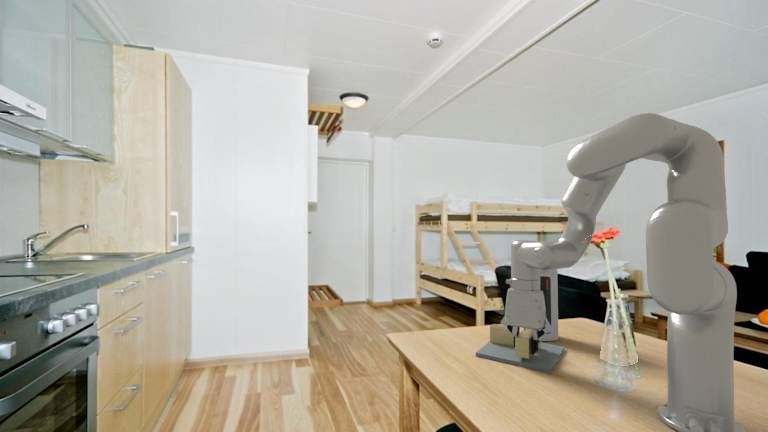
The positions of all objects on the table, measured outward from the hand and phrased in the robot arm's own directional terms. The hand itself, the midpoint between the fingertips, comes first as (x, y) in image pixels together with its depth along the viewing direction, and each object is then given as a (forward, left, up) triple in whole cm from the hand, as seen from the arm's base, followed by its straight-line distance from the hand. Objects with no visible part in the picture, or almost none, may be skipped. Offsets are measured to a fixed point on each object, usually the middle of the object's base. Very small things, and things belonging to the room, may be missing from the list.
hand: (525, 350), depth 100 cm
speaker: (+25, +1, -3) cm, 25 cm away
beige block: (+3, 0, -1) cm, 3 cm away
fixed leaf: (+8, +5, -2) cm, 10 cm away
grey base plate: (+6, +3, -3) cm, 7 cm away
